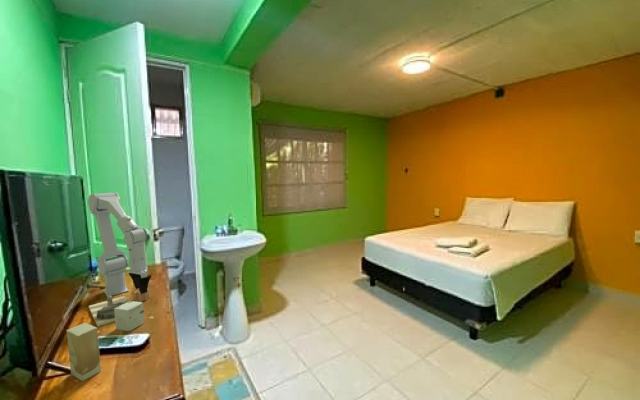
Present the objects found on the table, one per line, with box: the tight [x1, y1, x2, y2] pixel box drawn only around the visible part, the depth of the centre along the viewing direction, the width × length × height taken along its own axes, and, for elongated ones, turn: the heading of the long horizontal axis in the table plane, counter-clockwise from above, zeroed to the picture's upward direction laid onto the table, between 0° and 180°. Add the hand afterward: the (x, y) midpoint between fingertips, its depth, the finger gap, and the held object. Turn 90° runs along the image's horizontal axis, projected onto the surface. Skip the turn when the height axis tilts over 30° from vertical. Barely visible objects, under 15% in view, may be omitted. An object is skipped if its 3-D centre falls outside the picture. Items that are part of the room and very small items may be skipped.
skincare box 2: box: [114, 300, 146, 332], centre depth 98 cm, size 6×6×7 cm
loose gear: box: [132, 288, 151, 303], centre depth 119 cm, size 5×5×4 cm
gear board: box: [88, 295, 130, 328], centre depth 110 cm, size 20×12×4 cm, turn 45°
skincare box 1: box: [66, 322, 102, 382], centre depth 75 cm, size 6×4×12 cm
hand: (141, 290), depth 119 cm, fingers open, 7 cm apart
